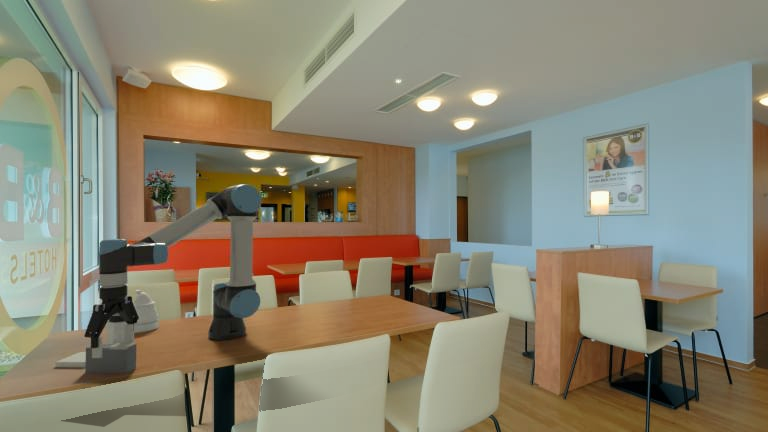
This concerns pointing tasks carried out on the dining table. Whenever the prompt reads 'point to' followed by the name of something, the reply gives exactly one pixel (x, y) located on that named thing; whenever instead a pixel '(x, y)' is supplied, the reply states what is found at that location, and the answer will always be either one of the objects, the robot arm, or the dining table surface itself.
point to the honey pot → (145, 313)
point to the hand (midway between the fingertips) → (114, 350)
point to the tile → (73, 361)
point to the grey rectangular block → (112, 359)
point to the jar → (115, 329)
